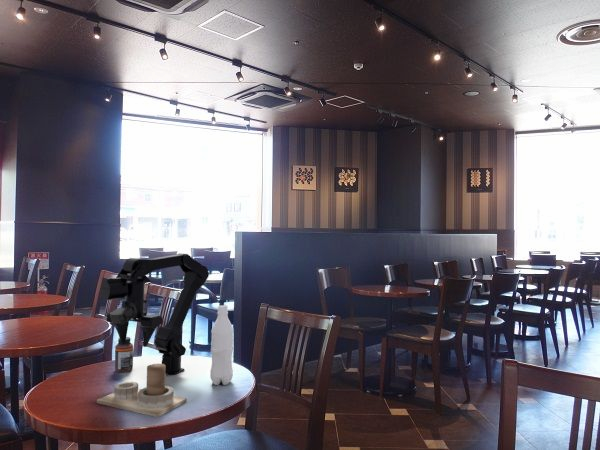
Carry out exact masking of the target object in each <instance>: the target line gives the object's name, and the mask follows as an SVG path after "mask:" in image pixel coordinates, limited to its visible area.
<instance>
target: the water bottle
mask: <svg viewBox="0 0 600 450" xmlns="http://www.w3.org/2000/svg"><path fill="white" fill-rule="evenodd" d="M228 311H229V309H228V305H225V304H224V305H223V304H221V305H218V307H217V312H216V313H217V317H216V320H215V321H214V323H213V326H212V328H211V331H210V333H211V342H210V344H211V346H210V354H211V367H210V372H209V373H210V375H209V376H210V380H211V382H212V384H214V386H219V385H220V383H222V385H223V386H227V385H228V384H229V383H230V382H231V381H232V379H233V372H234V370H233V363H232V362H233V361H232V360H233V359H232V357H233V351H234V327H233V324H232V323H231V321H230V319H229V317H228V316H229V315H228V314H229V312H228Z"/></svg>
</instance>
